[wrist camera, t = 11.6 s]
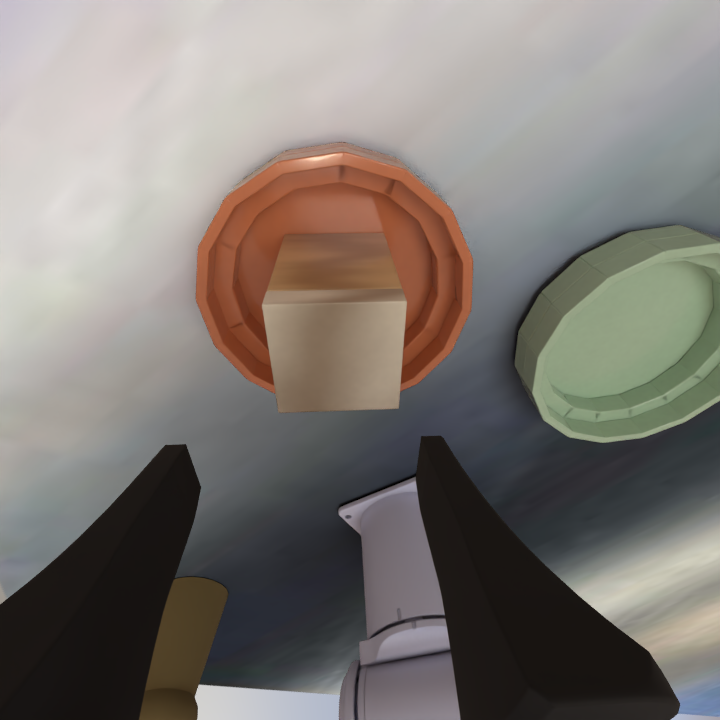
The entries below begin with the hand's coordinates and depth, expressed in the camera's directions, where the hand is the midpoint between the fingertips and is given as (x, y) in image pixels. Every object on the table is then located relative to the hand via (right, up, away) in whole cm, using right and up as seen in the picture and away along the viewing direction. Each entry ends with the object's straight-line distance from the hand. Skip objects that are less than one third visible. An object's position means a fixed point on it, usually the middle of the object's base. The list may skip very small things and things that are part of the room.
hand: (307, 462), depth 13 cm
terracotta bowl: (0, +7, +7) cm, 10 cm away
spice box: (0, +7, +7) cm, 10 cm away
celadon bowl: (+16, +5, +10) cm, 20 cm away
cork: (-14, -19, +25) cm, 34 cm away
